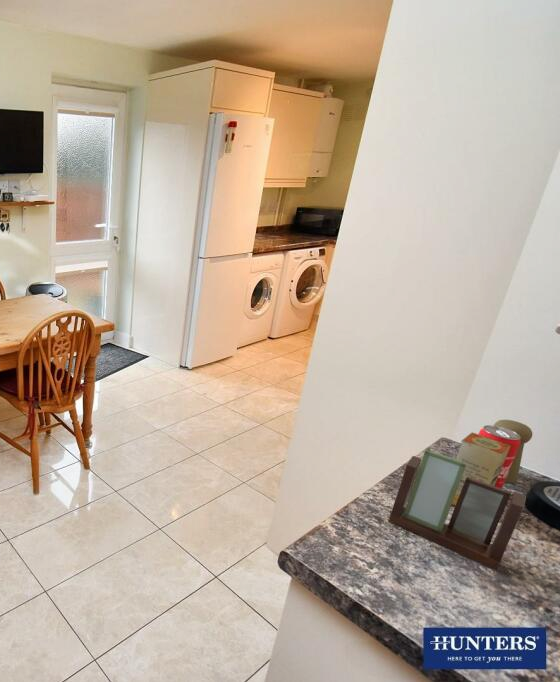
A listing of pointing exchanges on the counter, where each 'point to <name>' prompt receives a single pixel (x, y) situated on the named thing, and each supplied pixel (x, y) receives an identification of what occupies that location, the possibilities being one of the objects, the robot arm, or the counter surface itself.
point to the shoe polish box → (481, 459)
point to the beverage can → (507, 438)
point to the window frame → (466, 518)
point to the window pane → (434, 489)
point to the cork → (525, 436)
